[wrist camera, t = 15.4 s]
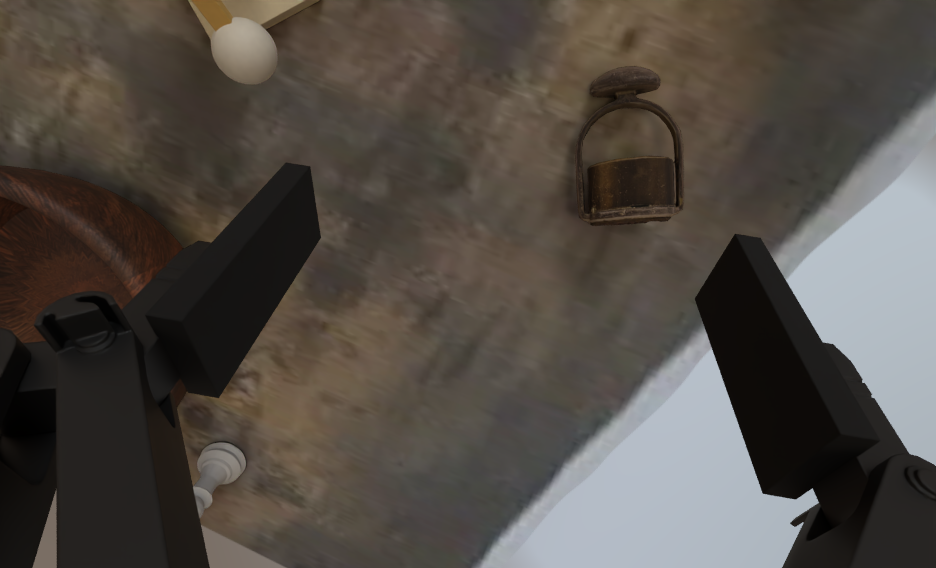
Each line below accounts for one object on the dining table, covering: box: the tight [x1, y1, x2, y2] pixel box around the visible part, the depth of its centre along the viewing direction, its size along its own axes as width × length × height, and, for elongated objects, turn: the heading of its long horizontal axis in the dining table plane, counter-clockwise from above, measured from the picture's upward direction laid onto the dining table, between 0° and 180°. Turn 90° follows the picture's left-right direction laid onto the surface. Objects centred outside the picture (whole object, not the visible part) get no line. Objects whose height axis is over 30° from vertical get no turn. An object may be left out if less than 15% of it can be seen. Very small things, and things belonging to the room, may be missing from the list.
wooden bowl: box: [0, 166, 187, 407], centre depth 37 cm, size 25×25×10 cm
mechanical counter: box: [575, 66, 684, 226], centre depth 35 cm, size 7×13×10 cm
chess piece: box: [193, 442, 246, 519], centre depth 44 cm, size 5×5×8 cm
